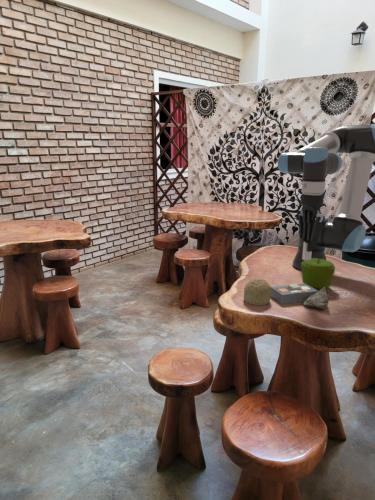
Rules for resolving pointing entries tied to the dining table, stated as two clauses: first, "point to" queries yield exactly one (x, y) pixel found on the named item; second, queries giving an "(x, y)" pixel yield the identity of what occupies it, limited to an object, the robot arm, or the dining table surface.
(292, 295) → the keypad
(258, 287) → the decorative object
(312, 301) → the rock sample
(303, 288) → the key
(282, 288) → the key
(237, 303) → the dining table surface
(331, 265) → the apple
